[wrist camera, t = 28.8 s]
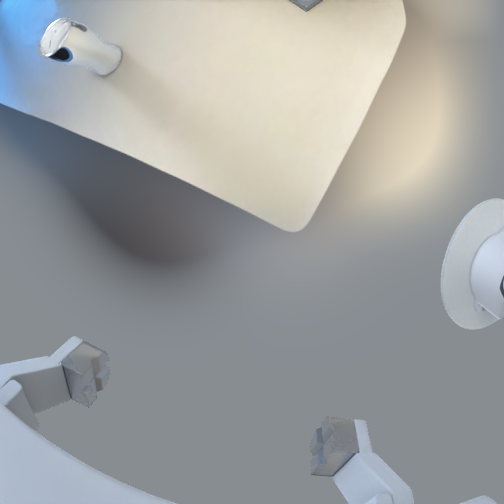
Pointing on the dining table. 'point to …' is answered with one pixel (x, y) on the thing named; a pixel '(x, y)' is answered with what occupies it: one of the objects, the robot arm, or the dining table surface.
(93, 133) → the dining table surface
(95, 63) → the beer glass
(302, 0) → the coffee maker
